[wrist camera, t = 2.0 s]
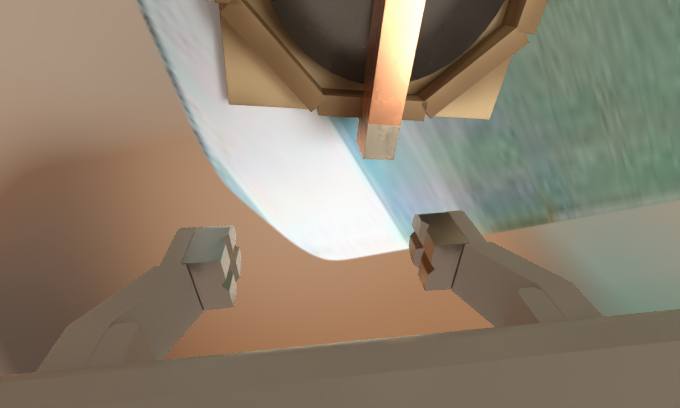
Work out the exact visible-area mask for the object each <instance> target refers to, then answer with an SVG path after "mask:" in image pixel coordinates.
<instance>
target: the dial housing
mask: <svg viewBox="0 0 680 408" xmlns="http://www.w3.org/2000/svg"><path fill="white" fill-rule="evenodd" d="M547 1H548V0H505V2H504V3H503V5H502V7H501V8H500V10H499V12H498V13H497V15H496V16H495V18H494V19H493V20H492V22H491V23H490V25H489V26H488V27H487V29H486V30H485V31H484V32H483V33H482V34H481V36H480V37H479V38H478V39H477V40H476V41H475V42H474V43H473V44H472V45H471V46H470V47H469V48H468V49H467V50H466V51H465V52H464V53H463V54H461V55H460V56H459V57H458V58H456V59H455V60H454V61H452V62H451V63H449V64H448V65H447V66H445V67H443V68H441V69H440V70H438V71H436V72H434V73H433V74H430V75H428V76H425V77H423V78H421V79H418V80H414V81H411V82H409V85H408V90H407V95H406V100H405V105H404V110H403V115H402V120H414V121H424V116H428V117H429V118H430V119H431V118H432V117H433V116H443V117H461V118H478V119H490V116H491V113H492V110H493V108H494V105H495V102H496V99H497V96H498V93H499V91H500V88H501V85H502V82H503V79H504V76H505V74H506V71H507V68H508V65H509V62H510V59H511V57H512V55H513V54H515V53H516V52H517V51H518V50H520V49H521V48H522V47H524V46H525V45H526V44H528V43H529V41H528V39H527V36H526V34H525V33H529V34H535V33H536V30H537V27H538V25H539V22H540V20H541V17H542V14H543V12H544V9H545V6H546V4H547ZM215 2H216V3H219V8H220V18H221V28H222V38H223V49H224V59H225V69H226V79H227V89H228V99H229V104H231V105H249V106H267V107H284V108H302V109H309V110H310V111H311V112H312V111H313V110H314V109H317V112H318V115H322V116H340V117H359V116H360V108H361V100H362V92H363V84H361V83H357V82H354V81H350V80H347V79H344V78H342V77H340V76H338V75H335V74H333V73H331V72H330V71H328V70H327V69H325V68H323V67H322V66H320V65H319V64H317V63H316V62H315V61H314V60H313V59H311V58H310V57H309V56H308V55H306V54H305V53H304V51H303V50H302V49H301V48H300V47H299V46H298V45H297V44H296V43H295V42H294V41H293V39H292V38H291V37H290V35H289V34H288V33H287V31H286V30H285V28H284V27H283V26H282V24H281V22H280V20H279V19H278V17H277V15H276V13H275V12H274V10H273V8H272V5H271V3H270V1H269V0H215Z"/></svg>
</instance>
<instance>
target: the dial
mask: <svg viewBox="0 0 680 408" xmlns="http://www.w3.org/2000/svg"><path fill="white" fill-rule="evenodd" d="M269 1H270V3H271V5H272V8H273V10H274V12H275V13H276V15H277V17H278V19H279V20H280V22H281V24H282V26H283V27H284V28H285V30H286V31H287V33H288V34H289V35H290V37H291V38H292V39H293V41H294V42H295V43H296V44H297V45H298V46H299V47H300V48H301V49H302V50H303V51H304V53H305V54H306V55H308V56H309V57H310V58H311V59H313V60H314V61H315V62H316V63H317V64H319V65H320V66H322V67H323V68H325V69H327V70H328V71H330V72H331V73H333V74H335V75H338V76H340V77H342V78H344V79H347V80H350V81H354V82H357V83H361V84H363V92H362V100H361V108H360V116H359V124H358V132H357V140H356V141H357V144H358V146H359V149H360V152H361V154H362V157H363V159H386V160H394V155H395V150H396V145H397V140H398V135H399V130H400V125H401V120H402V115H403V110H404V105H405V100H406V95H407V90H408V85H409V82H411V81H414V80H418V79H421V78H423V77H425V76H428V75H430V74H433V73H434V72H436V71H438V70H440V69H441V68H443V67H445V66H447V65H448V64H449V63H451V62H452V61H454V60H455V59H456V58H458V57H459V56H460V55H461V54H463V53H464V52H465V51H466V50H467V49H468V48H469V47H470V46H471V45H472V44H473V43H474V42H475V41H476V40H477V39H478V38H479V37H480V36H481V34H482V33H483V32H484V31H485V30H486V29H487V27H488V26H489V25H490V23H491V22H492V20H493V19H494V18H495V16H496V15H497V13H498V12H499V10H500V8H501V7H502V5H503V3H504V2H505V0H269Z"/></svg>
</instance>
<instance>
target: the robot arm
mask: <svg viewBox="0 0 680 408" xmlns="http://www.w3.org/2000/svg"><path fill="white" fill-rule="evenodd" d="M412 226H413V228H414V230H415V231H414V232H413V233H412V235H411V236H410V241H409V249H410V255H411V259H412V262H413V264H414V265H415V266H417V267H418V268H419V271H418V276H419V278H420V281H421V283H422V285H423V287H424V290H425V291H428V290H445V289H452V291H453V292H454V293H455V294H457V295H458V296H459V297H460V298H461V299H462V300H464V301H465V302H466V303H467V304H469V305H470V306H471V307H472V308H473V309H475V310H476V311H477V312H478V313H479V314H480V315H482V316H483V317H484V318H485V319H486V320H488V321H489V322H490V323H491V324H492V325H494V326H495V327H493V328H484V329H473V330H463V331H452V332H442V333H433V334H422V335H411V336H401V337H391V338H381V339H371V340H361V341H350V342H340V343H330V344H320V345H310V346H301V347H291V348H279V349H269V350H259V351H250V352H239V353H229V354H219V355H209V356H198V357H188V358H178V359H168V360H162V358H163V357H164V356H165V355H166V354H167V353H168V352H169V351H170V349H171V348H172V347H173V346H174V345H175V344H176V343H177V341H178V340H179V339H180V338H181V337H182V336H183V335H184V333H185V332H186V331H187V330H188V329H189V328H190V327H191V326H192V324H193V323H194V322H195V321H196V320H197V319H198V318H199V316H200V315H201V314H202V313H203V310H212V309H221V308H229V307H234V302H235V297H236V292H237V286H236V282H235V281H237V279H239V277H240V272H241V255H240V250H239V247H238V246H236V245H235V241H236V232H235V229H234V227H233V226H213V227H192V228H181V229H179V230H178V231H177V233H176V235H175V237H174V239H173V241H172V242H171V245H170V246H169V248H168V250H167V252H166V254H165V257H164V258H163V260H162V262H161V264H160V266H155V267H153V268H152V269H150V270H148V271H147V272H145V273H144V274H142V275H141V276H140V277H138V278H137V279H135V280H134V281H132V282H131V283H129V284H128V285H127V286H125V287H124V288H122V289H121V290H119V291H118V292H117V293H115V294H114V295H112V296H111V297H109V298H108V299H106V300H105V301H103V302H102V303H100V304H99V305H98V306H96V307H95V308H93V309H92V310H90V311H89V312H87V313H86V314H84V315H83V316H82V317H80V318H79V319H77V320H76V321H74V322H73V323H71V324H70V325H69V326H67V328H66V329H65V331H64V332H63V333H62V335H61V336H60V338H59V339H58V341H57V342H56V344H55V345H54V347H53V348H52V349H51V351H50V352H49V354H48V355H47V357H46V358H45V360H44V361H43V363H42V364H41V366H40V367H39V368H38V370H37V371H36V373H26V374H16V375H6V376H0V408H680V309H675V310H665V311H655V312H645V313H635V314H625V315H614V316H603V315H602V314H601V313H600V312H599V311H598V310H597V309H596V308H595V307H594V306H593V304H592V303H591V302H590V301H589V300H588V299H587V298H586V297H585V296H584V295H583V294H582V293H581V292H580V291H579V289H577V287H576V286H575V285H574V284H573V283H572V282H569V281H568V280H565V279H564V278H562V277H560V276H558V275H556V274H554V273H552V272H550V271H548V270H546V269H544V268H542V267H540V266H538V265H536V264H534V263H532V262H530V261H528V260H526V259H524V258H522V257H520V256H518V255H516V254H514V253H512V252H510V251H509V250H507V249H505V248H503V247H501V246H499V245H497V244H495V243H492V242H486V240H485V239H484V238H483V236H482V235H481V234H480V232H479V231H478V230H477V228H476V227H475V226H474V224H473V223H472V222H471V221H470V219H469V218H468V217H467V215H466V214H465V213H464V212H463V211H461V210H460V211H449V212H444V213H429V214H415V215H414V218H413V222H412Z"/></svg>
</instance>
